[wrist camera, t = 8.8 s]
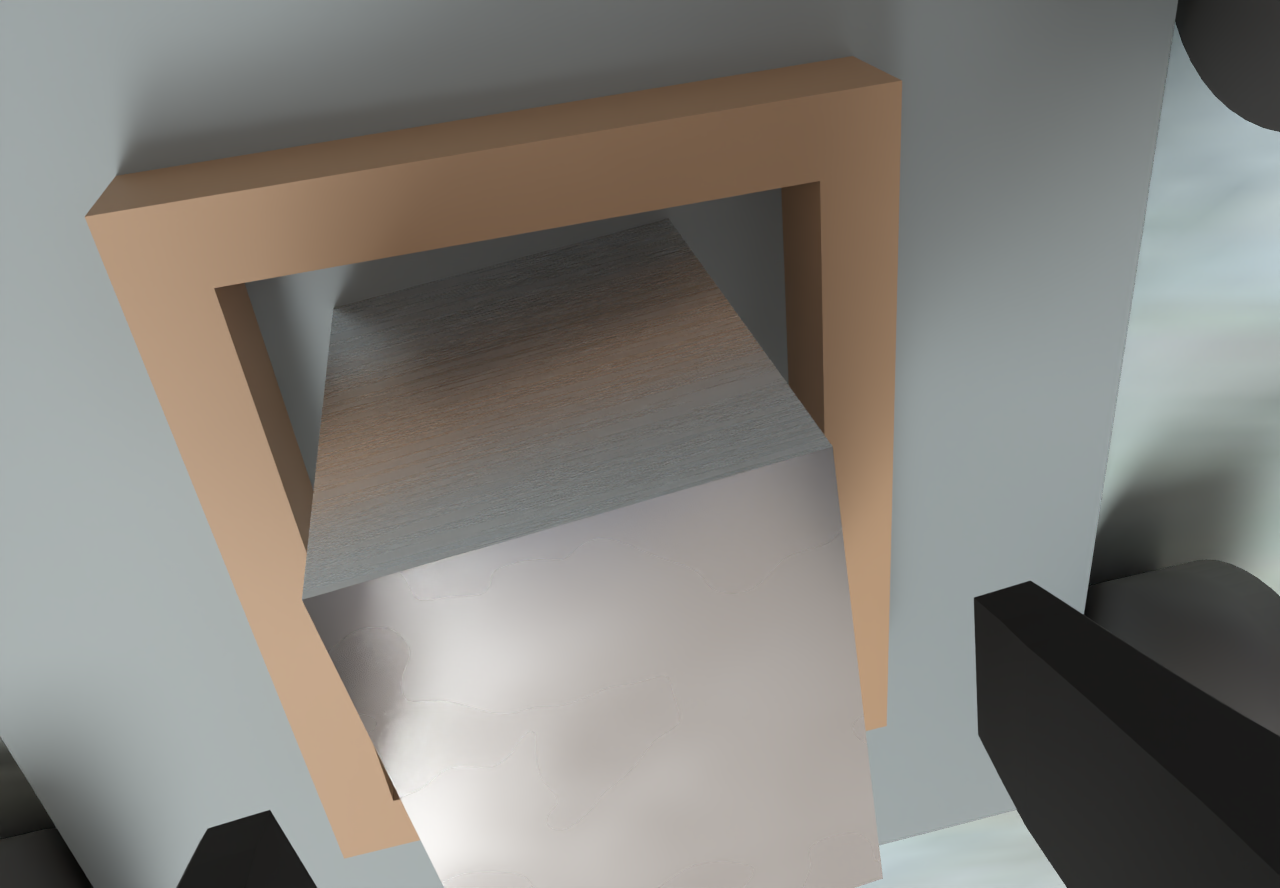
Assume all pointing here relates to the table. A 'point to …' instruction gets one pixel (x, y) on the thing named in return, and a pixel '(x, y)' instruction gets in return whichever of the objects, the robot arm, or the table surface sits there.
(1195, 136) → the table surface
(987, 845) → the table surface
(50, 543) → the chassis board
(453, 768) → the block
